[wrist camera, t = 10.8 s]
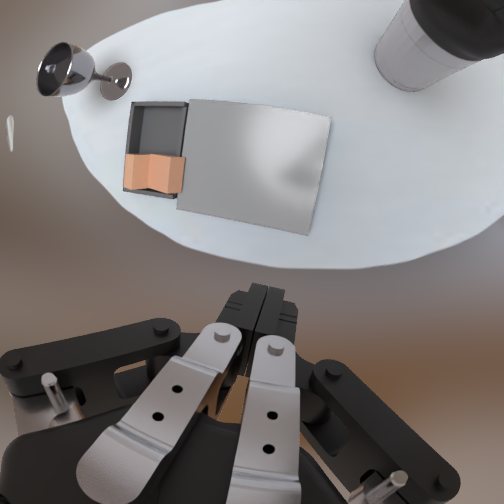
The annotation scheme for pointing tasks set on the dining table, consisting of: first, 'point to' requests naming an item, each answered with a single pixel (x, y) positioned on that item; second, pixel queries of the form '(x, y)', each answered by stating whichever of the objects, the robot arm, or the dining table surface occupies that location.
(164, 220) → the dining table surface
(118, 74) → the wine glass
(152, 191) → the tray
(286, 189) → the slate ledge
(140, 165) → the tile rear
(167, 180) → the tile front
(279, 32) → the dining table surface
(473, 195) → the dining table surface
